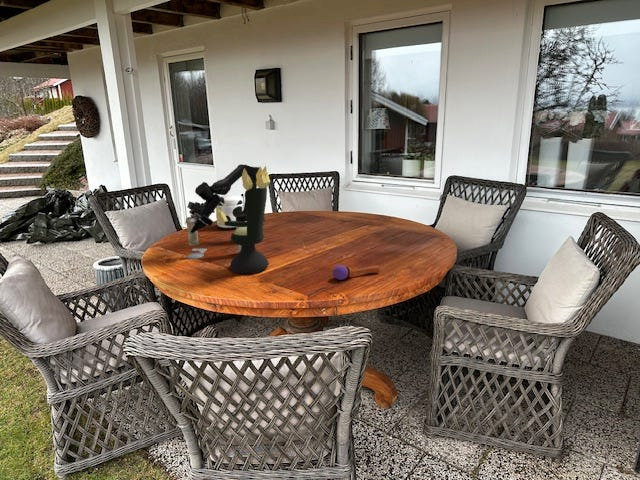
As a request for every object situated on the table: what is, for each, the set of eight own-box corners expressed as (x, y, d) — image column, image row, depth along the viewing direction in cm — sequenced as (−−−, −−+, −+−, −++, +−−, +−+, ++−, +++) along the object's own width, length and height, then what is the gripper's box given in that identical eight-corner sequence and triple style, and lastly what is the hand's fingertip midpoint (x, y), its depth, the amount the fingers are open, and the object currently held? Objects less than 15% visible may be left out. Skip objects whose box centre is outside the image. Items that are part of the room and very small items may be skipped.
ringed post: (201, 243, 203) (198, 216, 199) (195, 246, 198) (192, 219, 194) (192, 242, 204) (189, 216, 200) (186, 245, 199) (183, 218, 196)
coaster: (207, 254, 205) (206, 253, 205) (197, 259, 198) (197, 258, 198) (192, 253, 207) (192, 252, 207) (183, 258, 200) (183, 257, 200)
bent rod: (207, 250, 211) (206, 248, 211) (201, 253, 207) (201, 251, 206) (194, 249, 213) (194, 247, 213) (189, 252, 209) (188, 250, 208)
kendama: (382, 266, 172) (337, 270, 165) (379, 279, 175) (335, 283, 167) (375, 259, 177) (331, 263, 170) (372, 271, 180) (329, 275, 172)
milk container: (212, 227, 256) (209, 197, 251) (236, 222, 268) (234, 194, 262) (226, 232, 244) (223, 201, 239) (252, 226, 255) (249, 197, 250)
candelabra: (252, 258, 198) (245, 161, 185) (287, 267, 184) (282, 163, 172) (220, 269, 184) (210, 165, 171) (254, 280, 171) (246, 168, 158)
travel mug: (249, 256, 201) (246, 215, 195) (236, 255, 202) (233, 214, 197) (254, 252, 207) (251, 212, 201) (241, 251, 208) (238, 212, 202)
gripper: (191, 192, 204) (170, 218, 201) (203, 197, 189) (181, 225, 186) (208, 206, 210) (188, 231, 208) (221, 212, 195) (200, 239, 193)
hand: (189, 231), depth 198 cm, fingers closed on ringed post, 4 cm apart
